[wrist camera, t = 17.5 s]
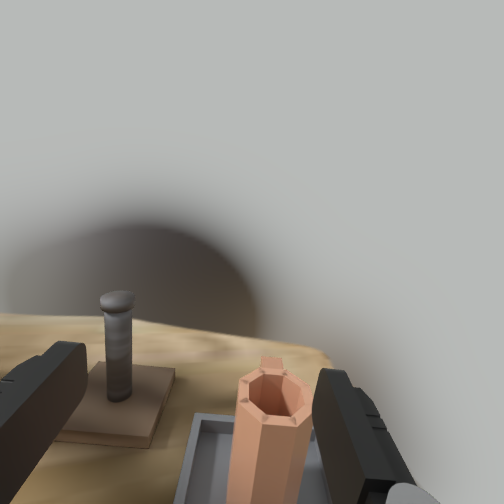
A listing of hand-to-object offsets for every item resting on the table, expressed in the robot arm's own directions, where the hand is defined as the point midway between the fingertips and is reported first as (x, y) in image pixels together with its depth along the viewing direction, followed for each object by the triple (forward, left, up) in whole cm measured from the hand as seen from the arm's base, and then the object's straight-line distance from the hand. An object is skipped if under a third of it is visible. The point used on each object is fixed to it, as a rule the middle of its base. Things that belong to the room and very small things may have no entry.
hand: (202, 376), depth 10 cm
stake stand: (-1, +22, -20) cm, 30 cm away
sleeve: (+8, +6, -19) cm, 22 cm away
